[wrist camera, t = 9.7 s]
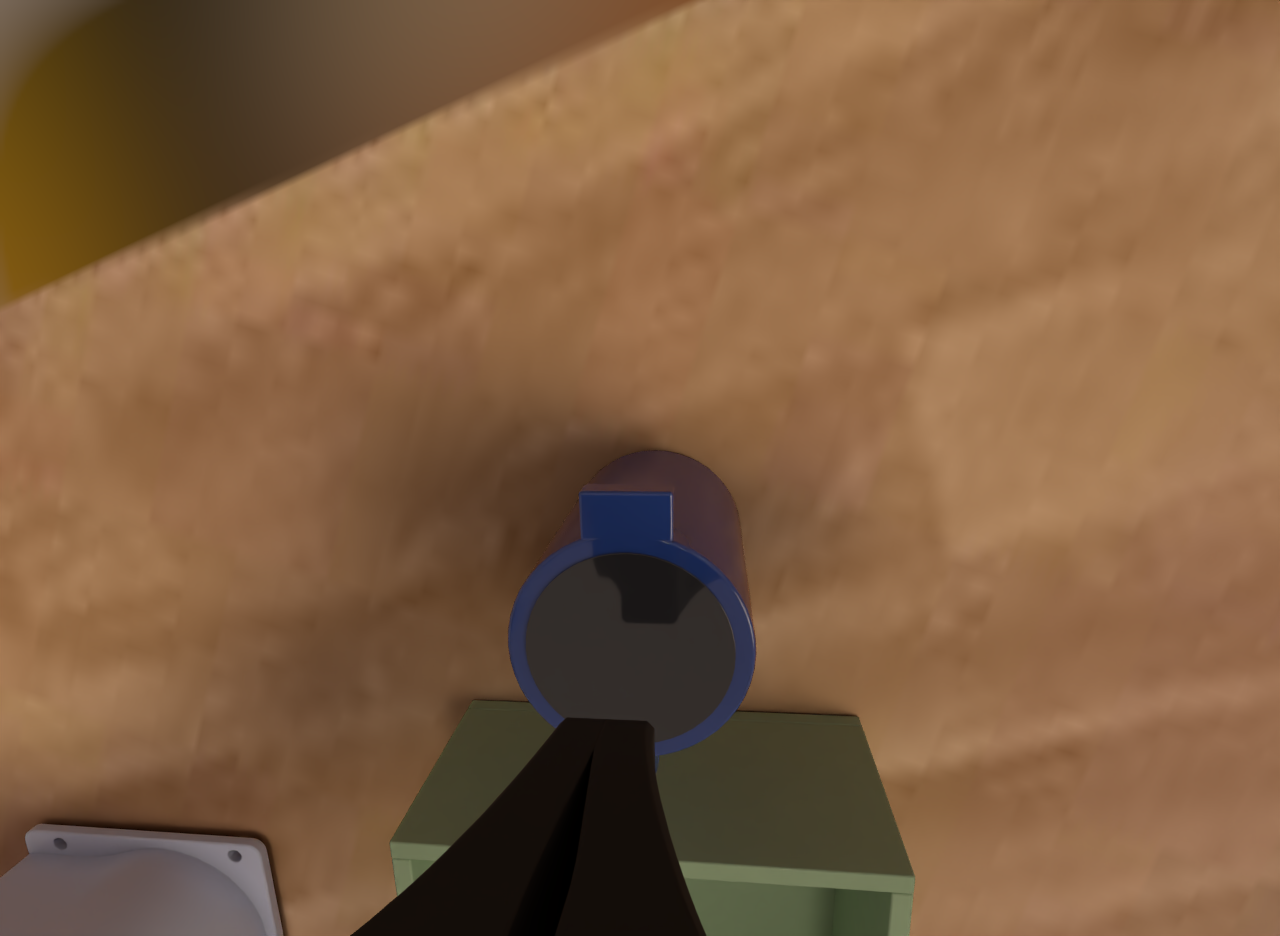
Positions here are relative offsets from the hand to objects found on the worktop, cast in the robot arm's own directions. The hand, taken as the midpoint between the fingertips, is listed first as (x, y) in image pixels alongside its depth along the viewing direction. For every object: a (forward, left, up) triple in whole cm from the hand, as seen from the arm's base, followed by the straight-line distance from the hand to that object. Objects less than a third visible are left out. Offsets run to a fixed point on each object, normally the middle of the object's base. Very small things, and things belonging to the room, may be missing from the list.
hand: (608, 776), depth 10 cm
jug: (0, 0, -10) cm, 10 cm away
